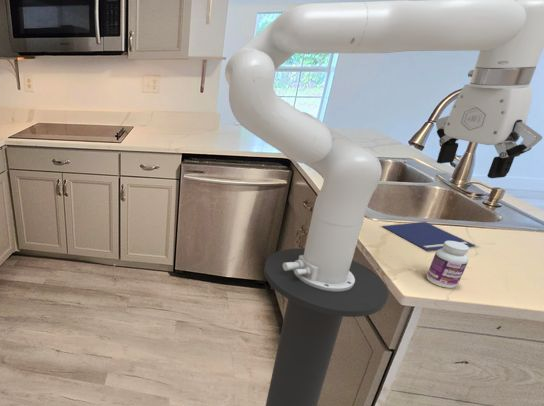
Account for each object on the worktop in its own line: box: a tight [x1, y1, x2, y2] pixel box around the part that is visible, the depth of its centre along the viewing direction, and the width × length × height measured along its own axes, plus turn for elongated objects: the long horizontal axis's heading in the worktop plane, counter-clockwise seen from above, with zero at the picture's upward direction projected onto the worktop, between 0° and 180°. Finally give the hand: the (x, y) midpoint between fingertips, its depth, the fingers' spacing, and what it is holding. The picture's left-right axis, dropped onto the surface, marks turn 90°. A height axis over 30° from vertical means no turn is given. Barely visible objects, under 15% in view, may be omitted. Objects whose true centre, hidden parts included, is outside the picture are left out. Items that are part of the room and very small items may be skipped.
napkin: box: [382, 221, 476, 252], centre depth 101 cm, size 14×14×1 cm
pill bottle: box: [426, 241, 470, 289], centre depth 80 cm, size 5×5×10 cm
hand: (468, 169), depth 71 cm, fingers open, 9 cm apart
